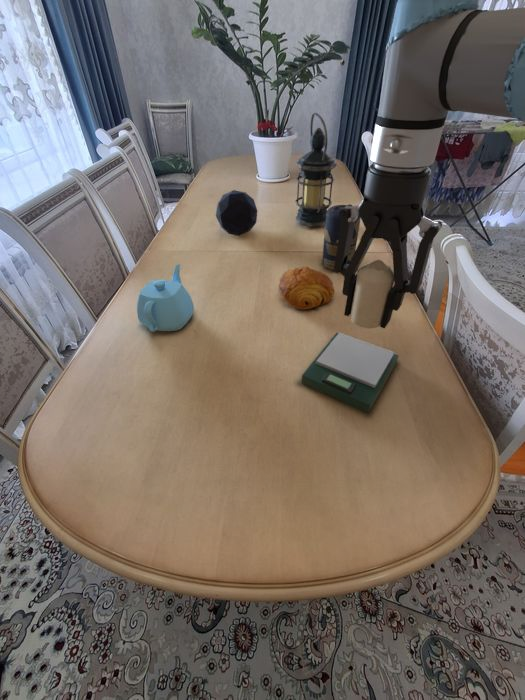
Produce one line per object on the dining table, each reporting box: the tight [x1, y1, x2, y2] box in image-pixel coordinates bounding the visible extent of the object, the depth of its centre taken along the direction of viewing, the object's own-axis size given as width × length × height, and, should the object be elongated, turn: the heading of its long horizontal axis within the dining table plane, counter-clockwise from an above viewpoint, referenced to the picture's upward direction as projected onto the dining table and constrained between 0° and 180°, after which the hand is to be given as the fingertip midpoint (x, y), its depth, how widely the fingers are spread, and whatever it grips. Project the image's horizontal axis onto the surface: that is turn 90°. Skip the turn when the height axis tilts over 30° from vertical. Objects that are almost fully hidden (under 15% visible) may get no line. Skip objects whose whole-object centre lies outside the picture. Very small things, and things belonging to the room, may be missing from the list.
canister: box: [321, 204, 361, 271], centre depth 101 cm, size 10×10×18 cm
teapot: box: [136, 264, 195, 333], centre depth 85 cm, size 13×11×18 cm
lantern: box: [294, 112, 337, 228], centre depth 120 cm, size 14×13×35 cm
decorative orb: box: [215, 189, 258, 237], centre depth 122 cm, size 14×15×15 cm
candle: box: [349, 259, 394, 329], centre depth 55 cm, size 6×6×10 cm
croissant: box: [278, 266, 335, 310], centre depth 92 cm, size 14×16×8 cm
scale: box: [301, 332, 399, 414], centre depth 71 cm, size 14×16×3 cm
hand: (366, 317), depth 58 cm, fingers closed on candle, 5 cm apart
